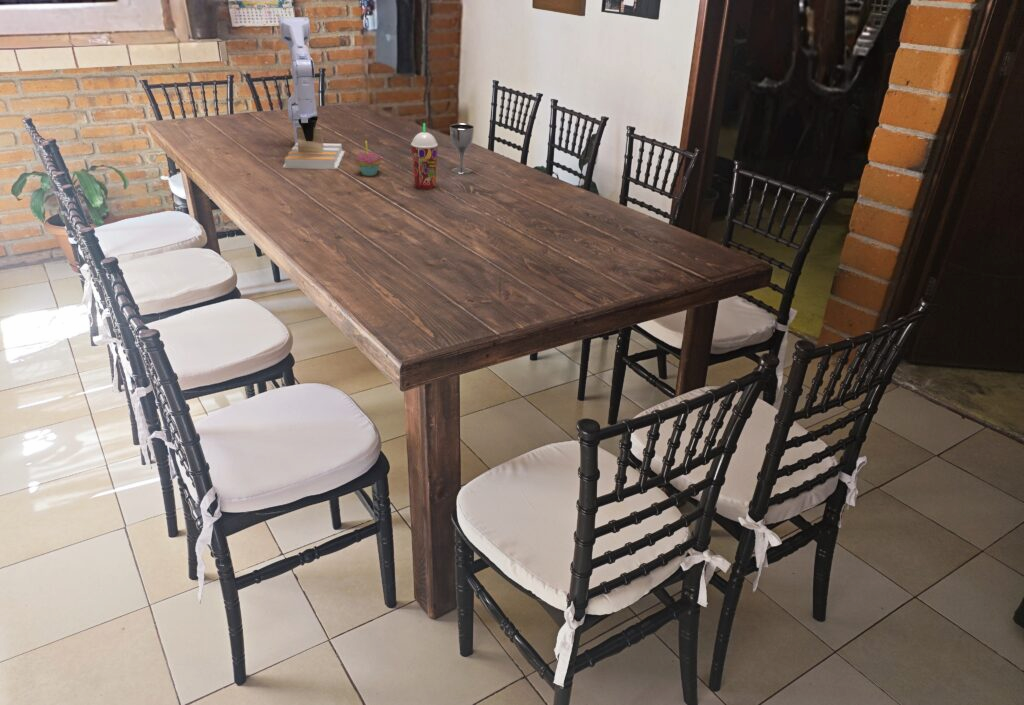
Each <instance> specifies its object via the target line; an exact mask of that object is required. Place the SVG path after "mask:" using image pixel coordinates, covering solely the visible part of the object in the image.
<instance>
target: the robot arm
mask: <svg viewBox="0 0 1024 705" xmlns="http://www.w3.org/2000/svg"><path fill="white" fill-rule="evenodd" d="M278 26H279V33H280V40H281V42H282V43H284V44H286V45H287V47H288V50H289V55H290V56H289V57H290V65H291V66H290V67H291V74H292V86H293V94H291V95H290V97H288V98H287V101H286V102H287V106H286V107H287V116H288V119H289V121H290V122H291V123H292V125H293V126H292V127H293V136H294V137H293V138H294V145H293V146H292V148H293V147H295V144H296V143H298V142H297V132H296V128H297V127H302V130H303V133H304V136H305V139H306V141H313V132H314V127H316V125H317V122H318V119H319V117H318V111H317V103H316V101H317V100H316V92H315V80H314V79H315V75H316V70H315V64H314V59H313V58H312V57H311V52H310V49H309V47H308V46H307V45H306V44H307V43H309V40H310V36H311V27H310V19H309V17H308V16H305V17H303V16H301V17H297V16H296V17H295V16H294V17H288V16H287V17H285V16H283V17H282V16H280V17H279V18H278Z"/></svg>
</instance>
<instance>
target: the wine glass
mask: <svg viewBox="0 0 1024 705" xmlns="http://www.w3.org/2000/svg"><path fill="white" fill-rule="evenodd" d="M474 130H475V128H474V125H472V124H468V123H453V124H451V125H449V135H450V139H451V140H450V141H451V144H452V145H453V147H454V148H455V149H456V150H457V151H458V154H459V158H460V159H459V163H460V166H459V167H453V168H451V169H452V170H451V169H450V171H451V172H453V173H454V174H455V173H456V174H469V172H470V173H471V172H472V169H471V168H469V167H468V168H467V167H464V164H463V163H464V162H463V161H464V155H465V152H466V151H467V149H469V147H470V146H471V144H472V143H473V139H474V133H475V131H474Z"/></svg>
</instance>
